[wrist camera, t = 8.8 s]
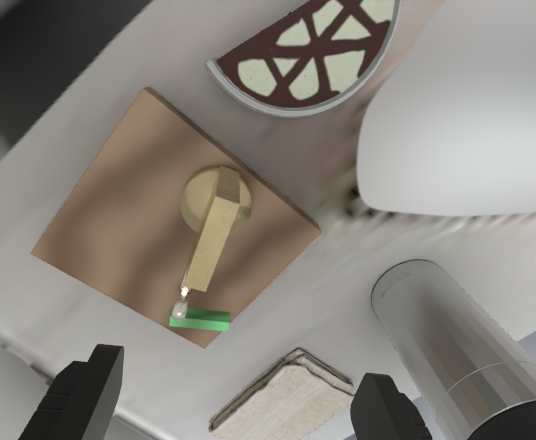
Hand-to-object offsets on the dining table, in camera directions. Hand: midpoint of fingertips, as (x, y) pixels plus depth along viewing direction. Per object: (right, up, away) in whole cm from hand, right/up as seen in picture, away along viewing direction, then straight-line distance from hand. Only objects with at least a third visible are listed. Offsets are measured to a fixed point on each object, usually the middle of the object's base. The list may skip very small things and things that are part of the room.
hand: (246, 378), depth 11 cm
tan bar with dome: (-5, +4, +20) cm, 21 cm away
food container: (+3, +19, +17) cm, 25 cm away
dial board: (-8, +4, +23) cm, 24 cm away
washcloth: (+3, -19, +35) cm, 40 cm away
